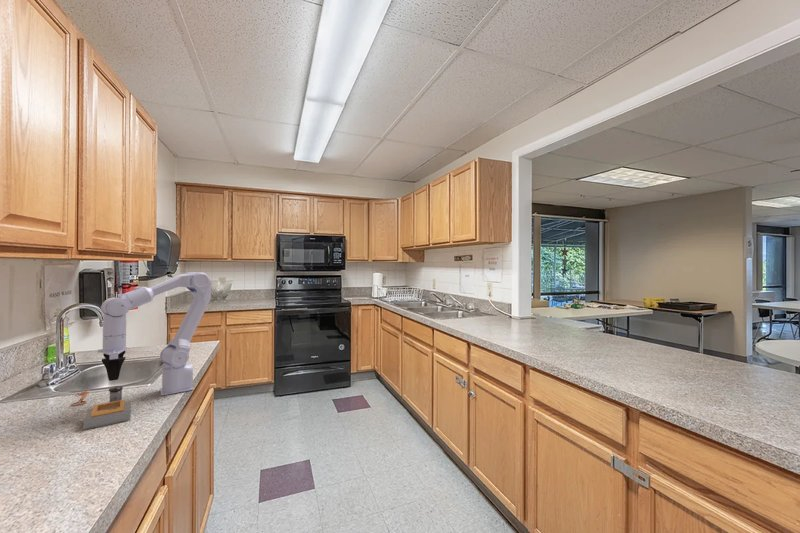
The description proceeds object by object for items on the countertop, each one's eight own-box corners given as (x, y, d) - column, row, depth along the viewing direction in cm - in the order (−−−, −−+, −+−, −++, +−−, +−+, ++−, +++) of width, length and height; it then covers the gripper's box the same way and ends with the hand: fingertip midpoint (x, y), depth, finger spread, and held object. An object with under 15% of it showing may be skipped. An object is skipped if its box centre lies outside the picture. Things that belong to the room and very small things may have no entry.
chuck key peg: (122, 402, 109) (122, 385, 109) (122, 405, 107) (122, 388, 107) (109, 404, 107) (109, 387, 107) (108, 408, 105) (108, 390, 105)
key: (73, 395, 116) (60, 410, 104) (73, 392, 116) (60, 407, 104) (95, 390, 120) (85, 404, 107) (95, 388, 120) (85, 402, 107)
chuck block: (130, 410, 103) (131, 397, 103) (130, 420, 97) (130, 406, 97) (87, 419, 97) (87, 405, 97) (83, 430, 91) (83, 415, 91)
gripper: (99, 332, 109) (98, 373, 109) (96, 340, 98) (95, 385, 98) (126, 330, 114) (126, 369, 114) (127, 337, 103) (126, 380, 103)
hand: (113, 376), depth 106 cm, fingers open, 7 cm apart
